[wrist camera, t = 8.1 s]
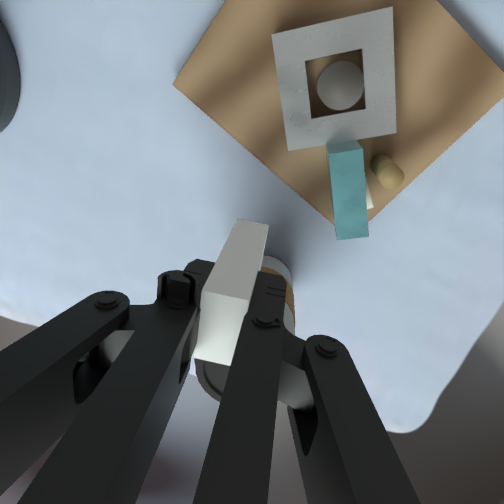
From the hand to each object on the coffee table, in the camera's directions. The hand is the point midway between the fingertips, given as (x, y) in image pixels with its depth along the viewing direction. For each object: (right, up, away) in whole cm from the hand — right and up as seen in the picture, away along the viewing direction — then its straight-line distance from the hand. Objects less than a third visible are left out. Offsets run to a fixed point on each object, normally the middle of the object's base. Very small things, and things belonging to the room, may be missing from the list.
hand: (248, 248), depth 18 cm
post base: (+7, +14, +15) cm, 22 cm away
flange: (+8, +11, +15) cm, 20 cm away
